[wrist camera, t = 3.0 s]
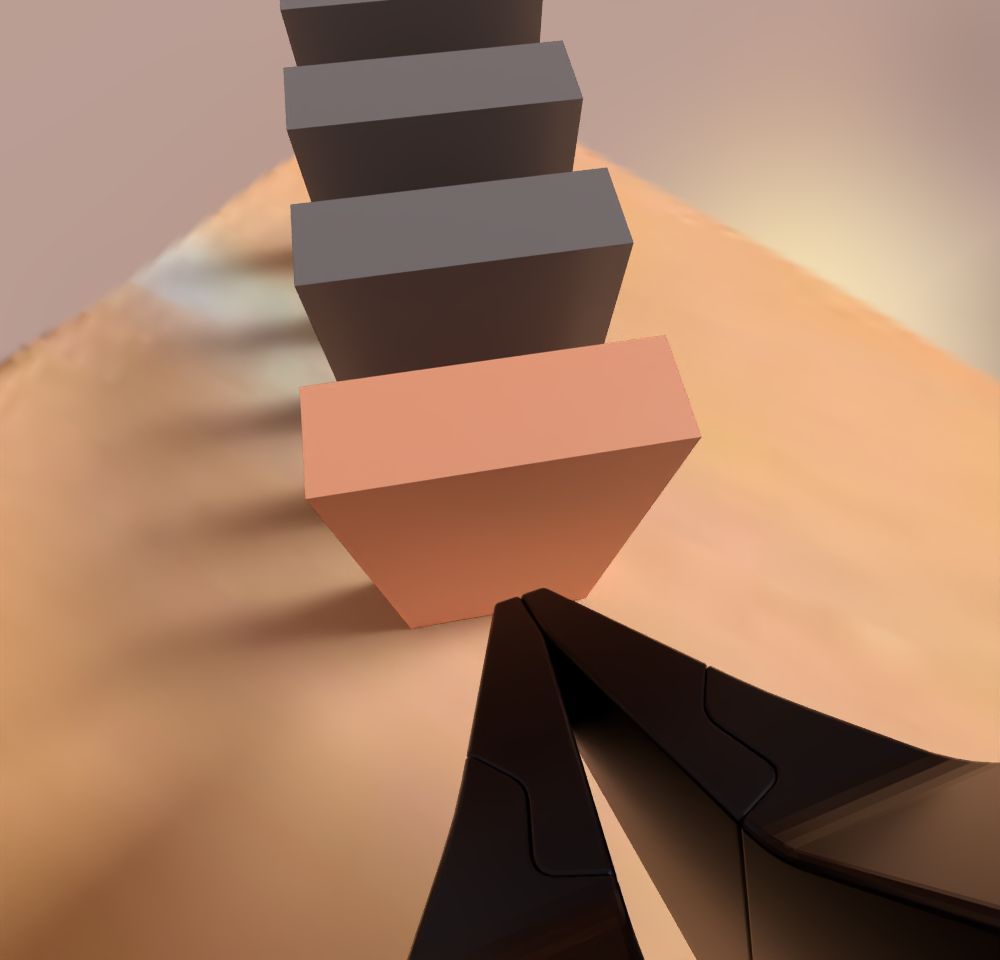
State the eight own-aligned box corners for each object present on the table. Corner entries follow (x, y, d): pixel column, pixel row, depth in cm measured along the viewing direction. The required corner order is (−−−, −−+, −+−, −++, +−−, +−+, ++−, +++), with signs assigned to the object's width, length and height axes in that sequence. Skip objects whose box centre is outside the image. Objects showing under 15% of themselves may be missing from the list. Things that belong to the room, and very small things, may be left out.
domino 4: (585, 597, 17) (702, 436, 7) (411, 628, 16) (305, 499, 7) (572, 544, 17) (665, 335, 8) (404, 573, 17) (299, 387, 8)
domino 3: (560, 492, 18) (633, 242, 9) (398, 518, 18) (295, 285, 8) (549, 446, 19) (607, 167, 9) (392, 470, 18) (290, 204, 9)
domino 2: (538, 400, 19) (583, 98, 10) (387, 422, 19) (286, 129, 10) (529, 359, 20) (562, 40, 11) (382, 381, 19) (283, 67, 10)
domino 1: (520, 320, 20) (543, -15, 11) (377, 339, 20) (280, 10, 11) (511, 284, 21) (527, -60, 12) (373, 302, 21) (277, -40, 11)
